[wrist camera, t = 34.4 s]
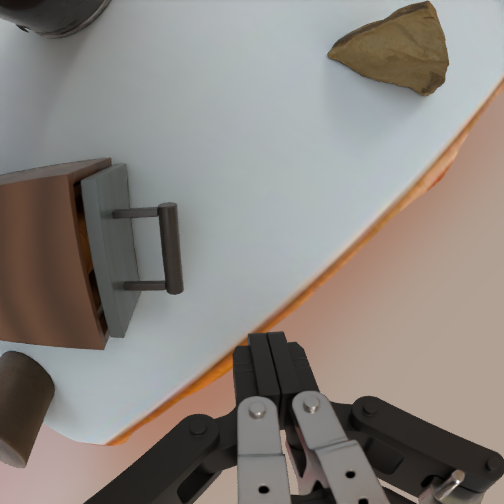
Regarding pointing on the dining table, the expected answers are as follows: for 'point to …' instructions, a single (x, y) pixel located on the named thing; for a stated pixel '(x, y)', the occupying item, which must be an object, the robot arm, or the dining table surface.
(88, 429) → the dining table surface
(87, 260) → the orange domed cylinder
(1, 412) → the pillar candle
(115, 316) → the drawer
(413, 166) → the dining table surface
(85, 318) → the cabinet
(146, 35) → the dining table surface
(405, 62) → the rock
